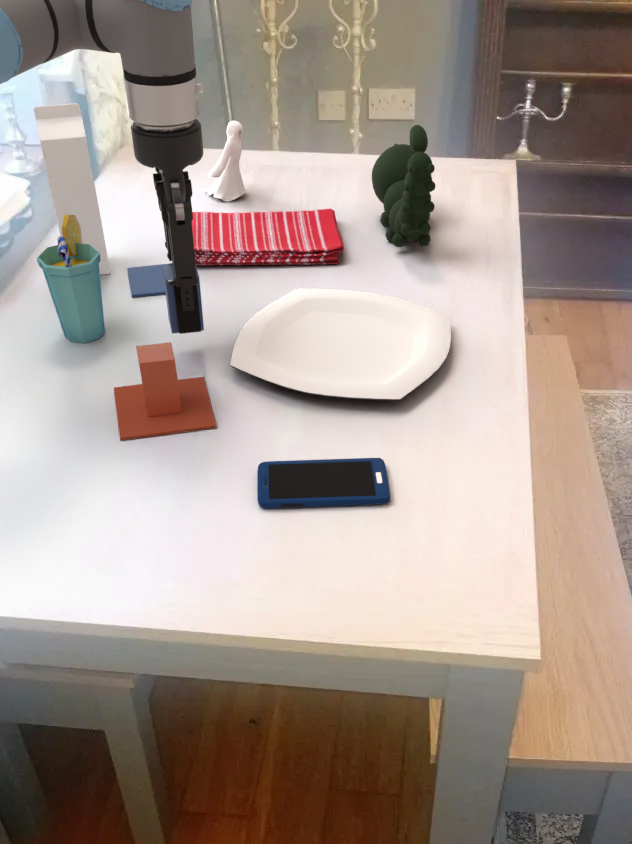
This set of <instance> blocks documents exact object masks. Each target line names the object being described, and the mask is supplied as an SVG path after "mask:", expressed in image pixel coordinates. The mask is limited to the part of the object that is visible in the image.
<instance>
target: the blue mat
mask: <svg viewBox="0 0 632 844" xmlns="http://www.w3.org/2000/svg"><path fill="white" fill-rule="evenodd" d="M162 265H169V263H162V264H161V263H160V264H152V265H141V266H131V267H127V268H126V270H127V277H128V281H129V288H130V289H129V290H130V293H131V298H141V297H151V296H161V295H166V293H165V284H164V276H163V267H162Z"/></svg>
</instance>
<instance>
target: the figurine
mask: <svg viewBox="0 0 632 844" xmlns="http://www.w3.org/2000/svg"><path fill="white" fill-rule="evenodd" d="M243 131H244V127H243V124H242V123H241V122H240V121H238V120H230V121H229V122H228V124H227V126H226V138H227V140H226V142H225V145H224V147H223V150H222V153H221V154H220V157H219V159H218V160H217V162H216V163H215V164H214V166H213V167H212V168H211V169H210V171H209V172H208V174H207V176H206V179H210V178H218V179H216V181H215V182H214V183H213V184H212V185H211V186H208V187H206V188H205V189H203V192H204V193H207V194H206V195H207V196H212V195H213V198H214V199H220V200H222V201H223V202H231V201H234V200H236V199H238V198H239V197H242V196H244V194H245V193H246V191H247V189H246V188H245V184H244V181H243V178H242V173H241V168H240V160H241V156H242V150H243V141H242V136H241V133H242V132H243Z"/></svg>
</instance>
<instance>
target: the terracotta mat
mask: <svg viewBox="0 0 632 844" xmlns="http://www.w3.org/2000/svg"><path fill="white" fill-rule="evenodd" d="M206 383H207V382H206V380H205V377H204V376H197V377H190V378H189V377H188V378H182V379H178V385H179V393H180V400H181V407H182V413H176V414H168V415H160V416H152V417H148V415H147V409H146V403H145V397H144V391H143V385H142V383H140V384H139V383H138V384H130V385H122V386H114V387H113V393H114V401H115V410H116V418H117V425H118V433H119V439H120V440H119V441H128V440H135V439H137V440H138V439H143V438H150V437H158V436H159V437H160V436H166V435H174V434H182V433H190V432H197V431H205V430H212V429H213V430H214V429H217V427H218V426H217V422H216V418H215V415H214V410H213V407H212V403H211V400H210V399H211V398H210V394H209V391H208V388H207V384H206Z"/></svg>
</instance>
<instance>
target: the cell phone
mask: <svg viewBox="0 0 632 844" xmlns="http://www.w3.org/2000/svg"><path fill="white" fill-rule="evenodd" d="M256 476H257V477H256V478H257V479H256V480H257V484H256V485H257V489H256V490H257V491H256V493H257V497H256V499H257V504H258V505H259V507H260V508H264V509H287V508H289V509H290V508H314V507H318V508H319V507H340V506H343V507H344V506H365V505H366V506H367V505H368V506H369V505H370V506H371V505H384V504H388V503H389V502H390V500H391V491H390V489H391V488H390V484H389V478H388V472H387V467H386V463H385V461H384V459H382V458H381V457H359V458H358V457H357V458H356V457H355V458H329V459H328V458H327V459H298V460H297V459H296V460H271V461H262V462H260V463H259V464H258V465H257V475H256Z"/></svg>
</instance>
